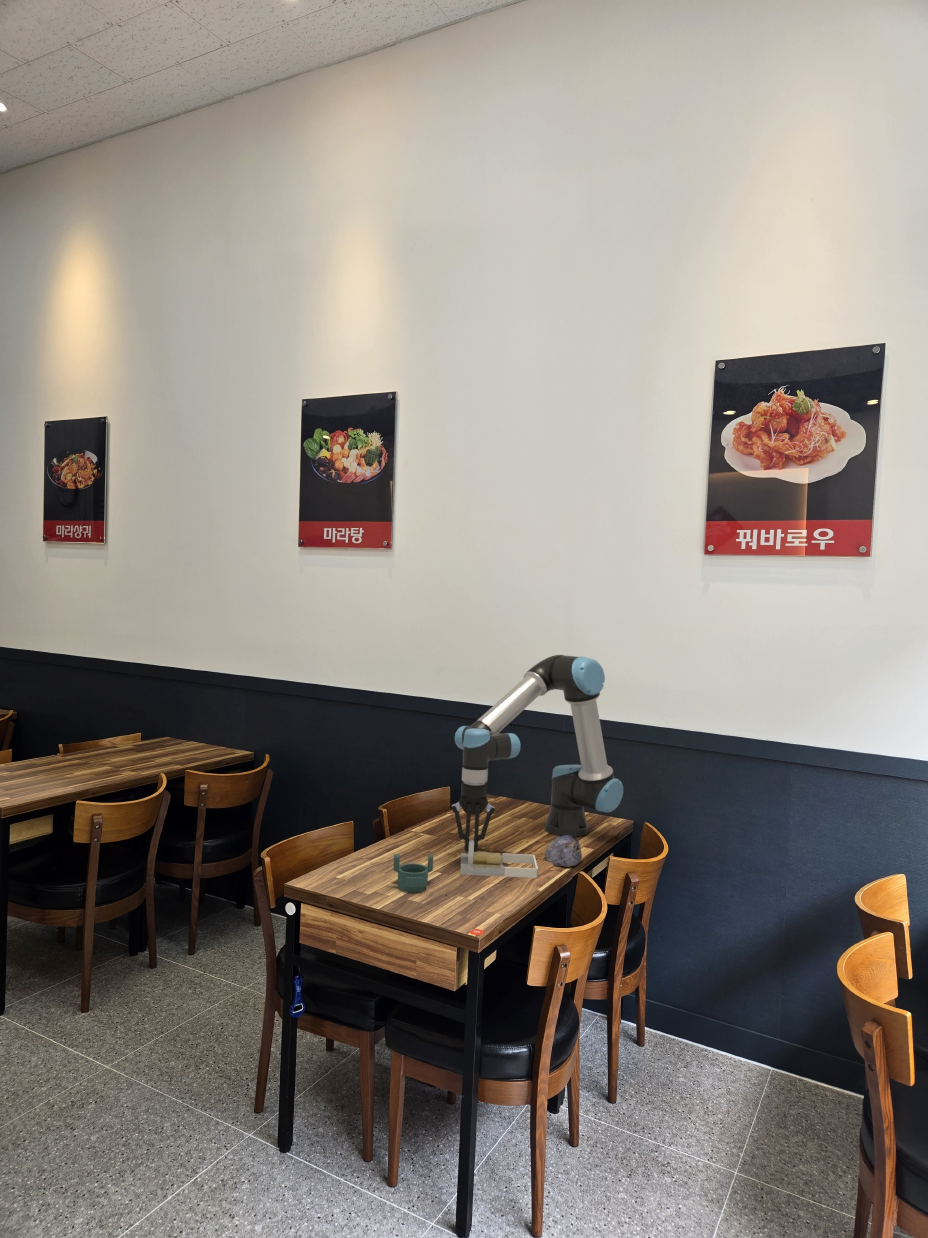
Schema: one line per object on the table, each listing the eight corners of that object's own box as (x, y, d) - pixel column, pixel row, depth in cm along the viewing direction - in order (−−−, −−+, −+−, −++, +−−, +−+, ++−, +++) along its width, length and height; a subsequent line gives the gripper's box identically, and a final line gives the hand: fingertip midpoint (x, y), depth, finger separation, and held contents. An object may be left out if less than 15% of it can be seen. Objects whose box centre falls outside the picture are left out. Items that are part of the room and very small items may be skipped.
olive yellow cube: (486, 865, 231) (486, 851, 230) (486, 869, 227) (487, 856, 226) (472, 864, 231) (473, 851, 231) (472, 869, 227) (473, 855, 227)
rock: (585, 852, 243) (576, 827, 239) (579, 876, 235) (570, 851, 231) (553, 853, 248) (544, 828, 244) (545, 877, 239) (536, 852, 235)
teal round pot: (389, 886, 212) (391, 854, 212) (414, 879, 219) (415, 847, 219) (412, 896, 206) (413, 862, 206) (436, 888, 213) (438, 855, 212)
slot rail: (502, 865, 235) (502, 855, 235) (504, 880, 222) (504, 869, 222) (460, 863, 235) (461, 853, 235) (460, 877, 222) (460, 867, 222)
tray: (533, 866, 235) (534, 855, 235) (537, 881, 222) (538, 869, 222) (502, 865, 235) (502, 853, 235) (504, 880, 222) (504, 867, 222)
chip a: (499, 866, 230) (500, 853, 230) (500, 871, 226) (501, 857, 226) (486, 866, 230) (487, 852, 230) (486, 870, 226) (487, 856, 226)
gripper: (496, 780, 232) (492, 859, 232) (452, 778, 232) (448, 857, 232) (497, 786, 224) (493, 868, 224) (451, 784, 224) (447, 865, 224)
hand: (470, 862), depth 228 cm, fingers closed
